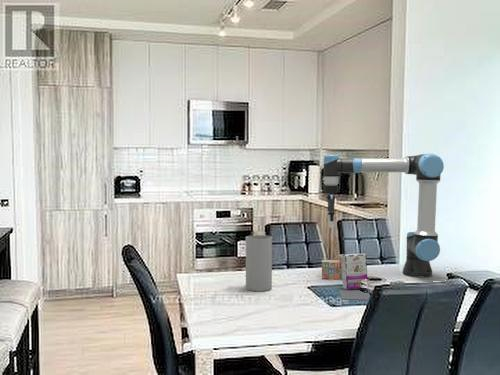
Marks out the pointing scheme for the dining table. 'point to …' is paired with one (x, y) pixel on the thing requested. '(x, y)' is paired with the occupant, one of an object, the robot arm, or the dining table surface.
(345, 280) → the candy bar box
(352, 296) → the mat
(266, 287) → the cylinder vase
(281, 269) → the dining table surface
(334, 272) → the stack of blocks
